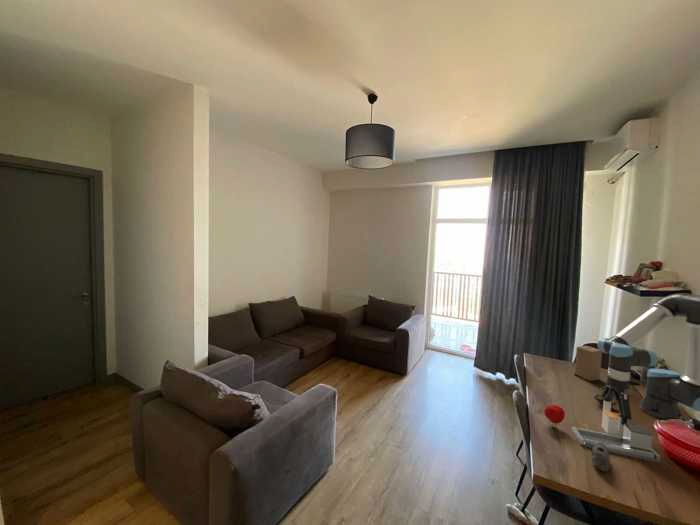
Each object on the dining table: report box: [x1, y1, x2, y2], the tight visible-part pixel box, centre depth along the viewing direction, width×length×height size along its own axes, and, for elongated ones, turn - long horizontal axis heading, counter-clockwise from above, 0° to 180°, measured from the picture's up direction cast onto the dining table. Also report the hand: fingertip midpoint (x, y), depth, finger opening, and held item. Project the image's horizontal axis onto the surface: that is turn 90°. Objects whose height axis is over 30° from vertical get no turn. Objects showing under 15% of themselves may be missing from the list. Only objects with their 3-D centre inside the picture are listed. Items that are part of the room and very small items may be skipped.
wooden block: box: [574, 345, 603, 382], centre depth 190 cm, size 10×10×20 cm
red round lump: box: [543, 404, 566, 428], centre depth 135 cm, size 9×7×10 cm
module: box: [601, 410, 629, 437], centre depth 133 cm, size 7×6×8 cm
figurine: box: [593, 384, 618, 408], centre depth 154 cm, size 10×8×12 cm
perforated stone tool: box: [591, 442, 610, 473], centre depth 113 cm, size 15×5×7 cm, turn 137°
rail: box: [571, 423, 661, 464], centre depth 123 cm, size 26×10×10 cm, turn 70°
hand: (613, 422), depth 133 cm, fingers open, 13 cm apart
